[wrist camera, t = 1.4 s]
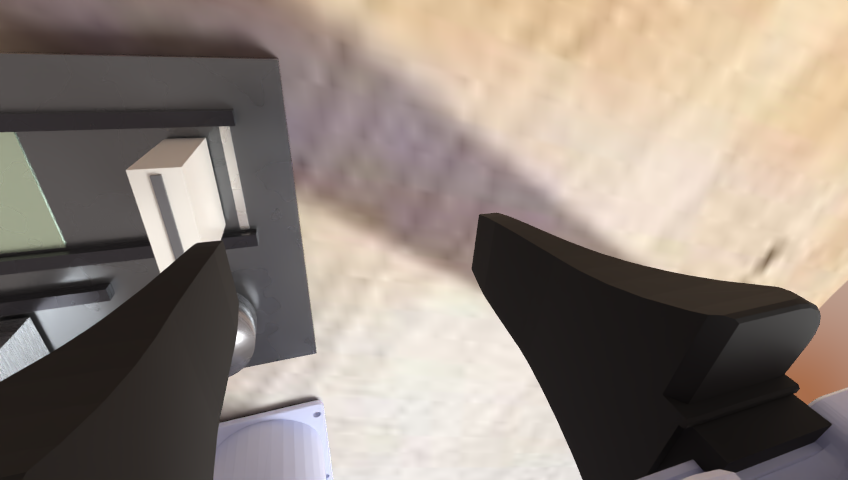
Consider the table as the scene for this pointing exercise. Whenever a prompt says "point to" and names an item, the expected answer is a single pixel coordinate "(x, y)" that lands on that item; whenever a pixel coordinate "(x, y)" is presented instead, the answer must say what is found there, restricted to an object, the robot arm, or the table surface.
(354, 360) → the table surface
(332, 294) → the table surface
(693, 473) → the robot arm
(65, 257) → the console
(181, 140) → the fader
